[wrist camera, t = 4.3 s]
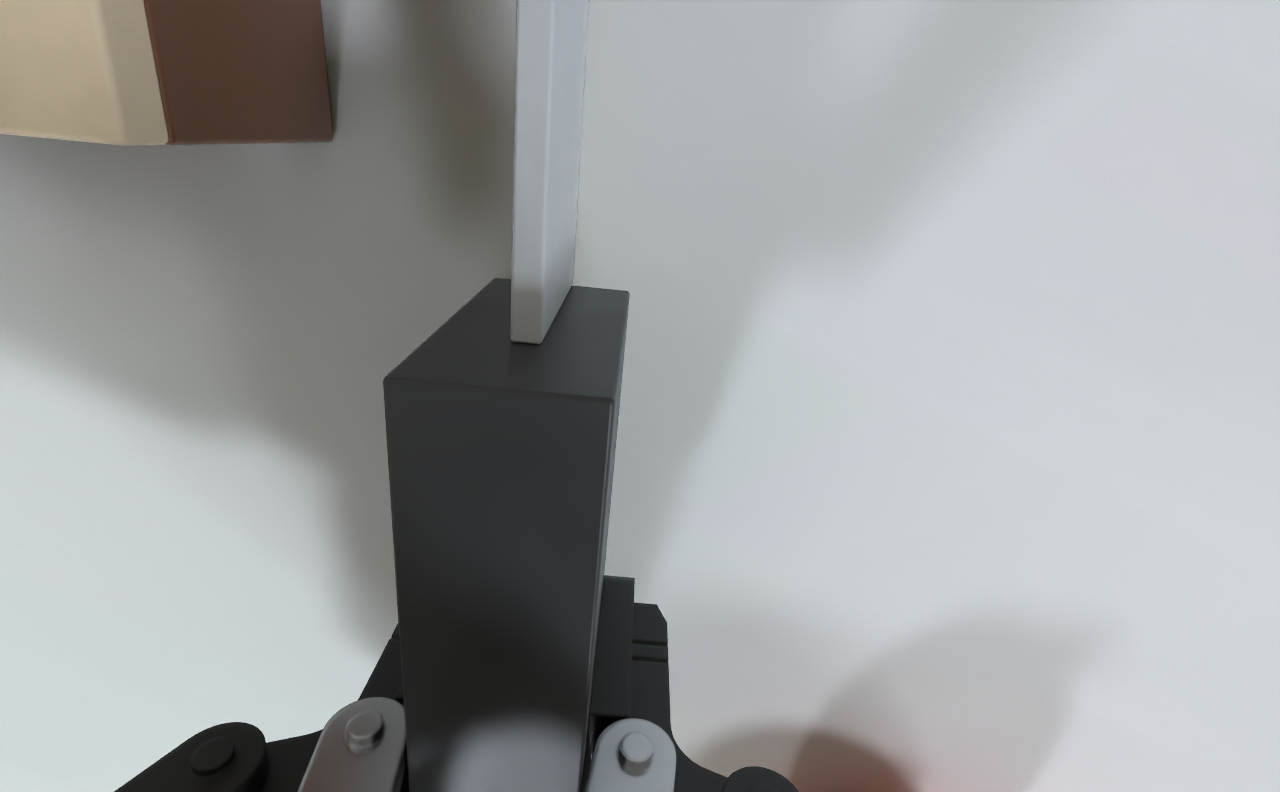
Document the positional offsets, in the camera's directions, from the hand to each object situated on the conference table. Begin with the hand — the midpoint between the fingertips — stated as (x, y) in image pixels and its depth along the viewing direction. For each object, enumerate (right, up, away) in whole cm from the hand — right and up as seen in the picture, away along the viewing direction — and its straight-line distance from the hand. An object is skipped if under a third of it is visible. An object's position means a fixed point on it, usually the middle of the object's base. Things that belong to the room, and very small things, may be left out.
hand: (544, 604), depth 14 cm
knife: (0, +4, -2) cm, 4 cm away
